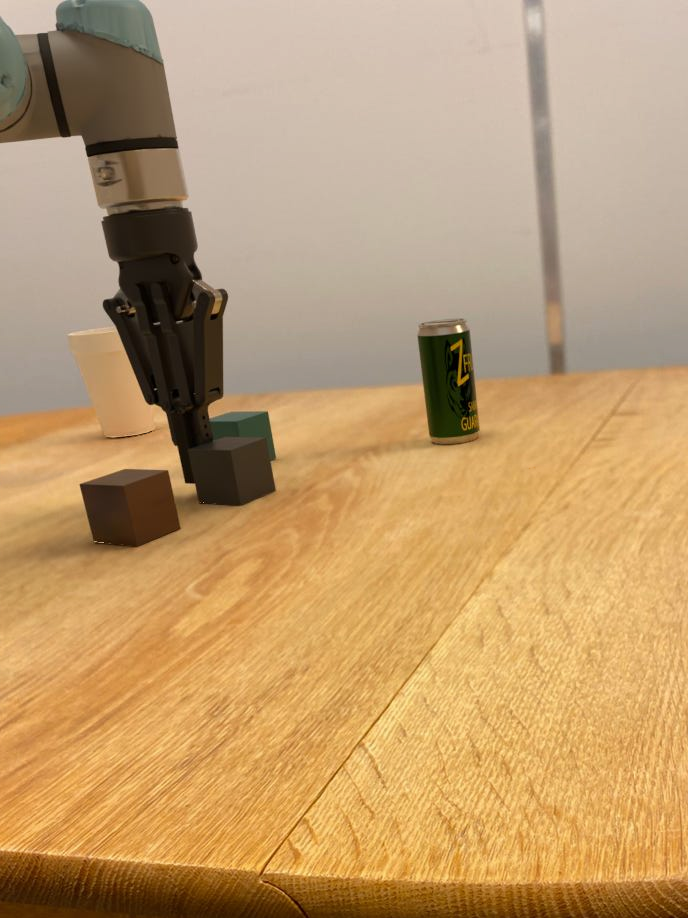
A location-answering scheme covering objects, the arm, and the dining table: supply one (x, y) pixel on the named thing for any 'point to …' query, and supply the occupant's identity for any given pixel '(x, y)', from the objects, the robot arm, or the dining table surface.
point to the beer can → (448, 381)
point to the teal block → (244, 427)
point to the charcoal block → (232, 470)
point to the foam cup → (111, 382)
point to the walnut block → (130, 506)
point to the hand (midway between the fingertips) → (200, 479)
